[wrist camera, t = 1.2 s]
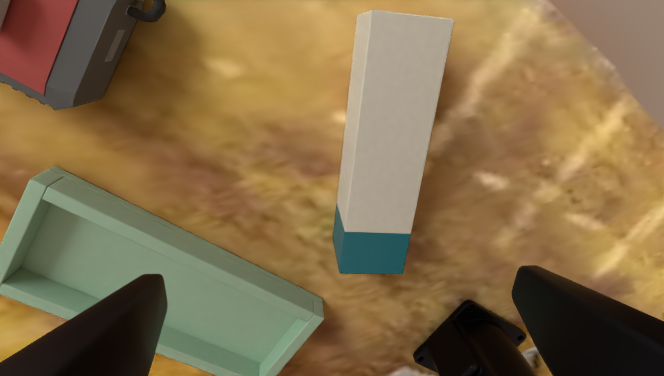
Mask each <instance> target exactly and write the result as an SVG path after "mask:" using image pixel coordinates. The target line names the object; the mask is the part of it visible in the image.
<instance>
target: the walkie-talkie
mask: <svg viewBox="0 0 664 376" xmlns="http://www.w3.org/2000/svg"><path fill="white" fill-rule="evenodd" d="M143 5H144V0H0V82H1V83H6V84H8V85H10V86H12V88H13V89H15V90H16V91H17V90H20V91H22V92H24V93H26V96H28V97H30V98H31V97H33V98H35V99H37V100H39V101H40V103H42V104H47V105H49V106H51V107H52V108H53V110H59V109H65V108H72V107H76V106H79V105H82V104H85V103H88V102H91V101H95V100H98V99H101V98H102V97H103V95H104V93H105V90H106V88H107V86H108V84H109V81H110V79H111V77H112V75H113V72H114V70H115V68H116V65H117V63H118V61H119V59H120V56H121V54H122V52H123V50H124V47H125V45H126V43H127V41H128V38H129V36H130V34H131V32H132V29H133V27H134V25H135V23H136V20H141V21H145V22H154V21H157V20H158V19H159V18H160V17H161V16H162V15H163V14H164V13H165V8H166V4H165V0H153V7H152V8H151V10H150V11H149V12H143V11H141V9H142V7H143Z"/></svg>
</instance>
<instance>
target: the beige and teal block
mask: <svg viewBox="0 0 664 376" xmlns="http://www.w3.org/2000/svg"><path fill="white" fill-rule="evenodd" d="M453 25H454V19H450V18H441V17H432V16H424V15H415V14H406V13H397V12H389V11H380V10H371V11H368V12H365V13H362V14H359V15H357V21H356V30H355V39H354V48H353V58H352V67H351V76H350V85H349V94H348V104H347V113H346V122H345V131H344V141H343V150H342V159H341V168H340V177H339V187H338V196H337V205H336V214H335V223H334V233H333V243H334V248H335V253H336V258H337V263H338V268H339V272H340V273H350V274H403V270H404V265H405V260H406V255H407V250H408V245H409V240H410V235H411V231H412V226H413V221H414V216H415V211H416V206H417V201H418V196H419V191H420V186H421V182H422V177H423V172H424V167H425V162H426V157H427V152H428V147H429V142H430V137H431V133H432V128H433V123H434V118H435V113H436V108H437V103H438V98H439V93H440V88H441V84H442V79H443V74H444V69H445V64H446V59H447V54H448V49H449V44H450V39H451V35H452V30H453Z"/></svg>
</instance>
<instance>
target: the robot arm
mask: <svg viewBox="0 0 664 376" xmlns="http://www.w3.org/2000/svg"><path fill="white" fill-rule="evenodd" d="M512 299H513V302H514V304H515V306H516V308H517V310H518V312H519V314H520V316H521V318H522V320H523V322H524V324H525V326H526V328H527V330H528V332H529V334H530V336H531V338H532V340H533V342H534V344H535V346H536V348H537V350H538V351H539V353H540V355H541V357H542V358H543V360H544V362H545V364H546V365H547V367H548V368H549V370H550V372H551V373H552V375H553V376H664V321H662V320H659V319H657V318H655V317H653V316H650V315H648V314H646V313H643V312H641V311H639V310H637V309H634V308H632V307H630V306H628V305H625V304H623V303H621V302H619V301H616V300H614V299H612V298H609V297H607V296H605V295H603V294H600V293H598V292H596V291H594V290H591V289H589V288H587V287H584V286H582V285H580V284H578V283H575V282H573V281H571V280H569V279H566V278H564V277H562V276H560V275H557V274H555V273H553V272H550V271H548V270H546V269H544V268H541V267H539V266H535V265H534V266H521V267H520V268H519V269H518V271H517V275H516V278H515V282H514V285H513V289H512ZM167 307H168V301H167V295H166V289H165V283H164V278H163V276H162V275H161V274H143V275H141V276H139V277H137V278H136V279H134V280H133V281H131V282H129V283H128V284H126V285H125V286H123V287H121V288H120V289H118V290H117V291H115V292H113V293H112V294H110V295H108V296H107V297H105V298H104V299H102V300H100V301H99V302H97V303H96V304H94V305H92V306H91V307H89V308H88V309H86V310H84V311H83V312H81V313H80V314H78V315H76V316H75V317H73V318H71V319H70V320H68V321H67V322H65V323H63V324H62V325H60V326H59V327H57V328H55V329H54V330H52V331H50V332H49V333H47V334H46V335H44V336H42V337H41V338H39V339H38V340H36V341H34V342H33V343H31V344H30V345H28V346H26V347H25V348H23V349H21V350H20V351H18V352H17V353H15V354H13V355H12V356H10V357H9V358H7V359H5V360H4V361H2V362H1V363H0V376H148V374H149V371H150V368H151V365H152V361H153V358H154V354H155V351H156V348H157V344H158V341H159V337H160V334H161V330H162V327H163V323H164V320H165V316H166V313H167ZM468 307H469V308H468ZM525 339H526V334H525V333H524V331H523V330H522V329H520V328H518V327H516V326H515V325H513V324H511V323H510V322H508V321H506V320H505V319H503V318H501V317H499V316H498V315H496V314H494V313H493V312H491V311H489V310H487V309H486V308H484V307H482V306H481V305H479V304H477V303H475V302H474V301H472V300H467V301H465V302H463V303H462V304H461V305H460V306H459V307H458V308H457V309H456V310H455V311H454V312H453V313H452V314H451V315H450V316H449V318H448V319H447V320H446V321H445V322H444V323H443V324H442V325H441V326H440V327H439V328H438V329H437V330H436V331H435V332H434V333H433V334H432V335H431V336H430V337H429V338H428V339H427V340H426V341H425V342H424V343H423V344H422V345H421V346H420V347H419V348H418V349H417V350H416V351H415V352H414V354H413V357H414V360H415V362H416V363H418V364H420V365H422V366H424V367H426V368H428V369H430V370H432V371H434V372H437V373H438V374H439V376H537V374H536V373H535V372H534V370H533V369H532V368H531V366H530V365H529V363H528V362H527V361H526V359H525V358H524V357H523V355H522V354H521V352H520V351H519V350H518V348H517V347H518V346H519V345H520V344H521V343H522V342H523V341H524V340H525Z"/></svg>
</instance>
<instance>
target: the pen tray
mask: <svg viewBox="0 0 664 376" xmlns="http://www.w3.org/2000/svg"><path fill="white" fill-rule="evenodd" d="M143 274H161V275H162V276H163V278H164V283H165V289H166V295H167V301H168V307H167V313H166V316H165V320H164V323H163V327H162V330H161V334H160V337H159V341H158V344H157V348H156V351H155V353H158V354H160V355H163V356H166V357H168V358H171V359H174V360H177V361H179V362H182V363H185V364H187V365H190V366H193V367H195V368H198V369H201V370H203V371H206V372H209V373H211V374H214V375H217V376H277V374H278V373H279V372H280V371H281V370H282V368H283V367H284V366H285V365H286V364H287V363H288V361H289V360H290V359H291V358H292V357H293V355H294V354H295V353H296V352H297V351H298V349H299V348H300V347H301V346H302V345H303V344H304V342H305V341H306V340H307V339H308V338H309V336H310V335H311V334H312V333H313V332H314V331H315V329H316V328H317V327H318V326H319V325H320V323H321V322H322V321H323V320H324V312H323V304H322V303H323V301H322V298H321V297H319V296H317V295H315V294H313V293H311V292H309V291H307V290H305V289H303V288H301V287H299V286H297V285H295V284H293V283H291V282H288V281H286V280H284V279H282V278H280V277H278V276H276V275H274V274H272V273H270V272H268V271H266V270H264V269H262V268H260V267H258V266H256V265H254V264H252V263H250V262H248V261H246V260H244V259H242V258H240V257H238V256H236V255H234V254H232V253H230V252H228V251H226V250H224V249H222V248H220V247H218V246H216V245H214V244H212V243H210V242H208V241H206V240H204V239H202V238H200V237H198V236H196V235H194V234H192V233H190V232H188V231H186V230H184V229H182V228H180V227H177V226H175V225H173V224H171V223H169V222H167V221H165V220H163V219H161V218H159V217H157V216H155V215H153V214H151V213H149V212H147V211H145V210H143V209H141V208H139V207H137V206H135V205H133V204H131V203H129V202H127V201H125V200H123V199H121V198H119V197H117V196H115V195H113V194H111V193H109V192H107V191H105V190H103V189H101V188H99V187H97V186H95V185H93V184H91V183H89V182H87V181H85V180H83V179H81V178H79V177H77V176H75V175H73V174H71V173H68V172H66V171H64V170H62V169H60V168H58V167H56V166H53V167H51V168H50V169H48V170H46V171H44V172H42V173H40V174H39V175H37V176H35V177H33V178H31V179H30V180H29V183H28V185H27V187H26V189H25V191H24V194H23V196H22V198H21V200H20V203H19V205H18V207H17V209H16V211H15V214H14V216H13V218H12V220H11V223H10V225H9V227H8V229H7V231H6V234H5V236H4V238H3V240H2V243H1V245H0V295H3V296H5V297H8V298H11V299H13V300H16V301H19V302H21V303H24V304H27V305H29V306H32V307H35V308H37V309H40V310H43V311H45V312H48V313H51V314H53V315H56V316H59V317H61V318H64V319H67V320H70V319H71V318H73V317H75V316H76V315H78V314H80V313H81V312H83V311H84V310H86V309H88V308H89V307H91V306H92V305H94V304H96V303H97V302H99V301H100V300H102V299H104V298H105V297H107V296H108V295H110V294H112V293H113V292H115V291H117V290H118V289H120V288H121V287H123V286H125V285H126V284H128V283H129V282H131V281H133V280H134V279H136V278H137V277H139V276H141V275H143Z"/></svg>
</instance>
